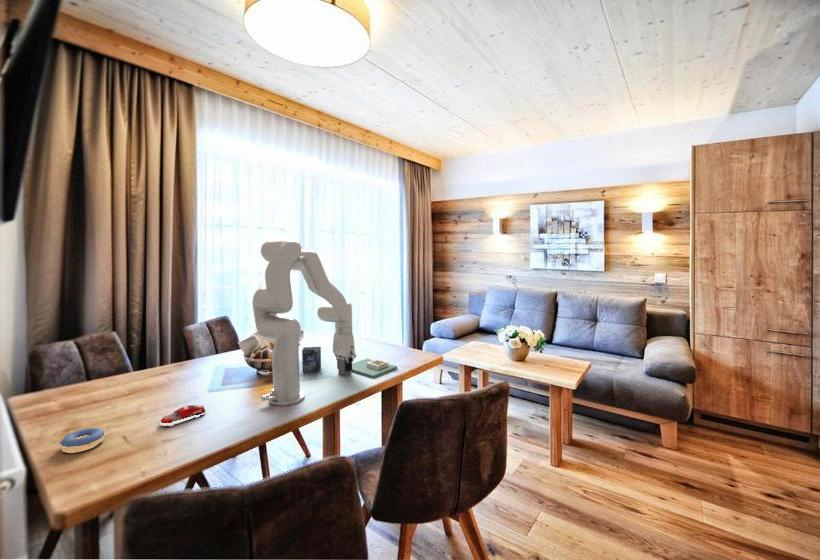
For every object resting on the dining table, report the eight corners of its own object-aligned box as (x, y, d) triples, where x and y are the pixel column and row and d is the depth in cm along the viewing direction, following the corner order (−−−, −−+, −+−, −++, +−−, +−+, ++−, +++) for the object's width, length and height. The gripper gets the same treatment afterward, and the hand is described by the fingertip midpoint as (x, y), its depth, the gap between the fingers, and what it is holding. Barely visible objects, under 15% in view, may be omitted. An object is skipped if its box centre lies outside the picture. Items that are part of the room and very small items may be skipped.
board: (373, 378, 162) (373, 371, 161) (342, 369, 174) (342, 362, 174) (397, 368, 174) (397, 362, 174) (367, 360, 186) (367, 354, 186)
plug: (344, 376, 164) (344, 358, 164) (338, 374, 167) (338, 357, 166) (351, 373, 168) (350, 356, 167) (345, 372, 170) (344, 355, 169)
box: (302, 372, 169) (301, 350, 168) (304, 368, 175) (303, 347, 174) (320, 372, 170) (319, 349, 169) (321, 368, 176) (320, 346, 175)
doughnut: (48, 455, 102) (49, 439, 102) (79, 439, 112) (80, 424, 112) (86, 458, 103) (87, 441, 103) (113, 441, 113) (114, 426, 113)
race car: (163, 430, 117) (162, 418, 117) (157, 425, 121) (156, 413, 120) (207, 415, 127) (206, 404, 127) (201, 411, 131) (200, 400, 130)
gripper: (324, 329, 168) (326, 368, 169) (350, 334, 157) (351, 375, 159) (337, 326, 174) (338, 363, 175) (363, 331, 163) (363, 371, 165)
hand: (344, 369), depth 167 cm, fingers open, 5 cm apart
